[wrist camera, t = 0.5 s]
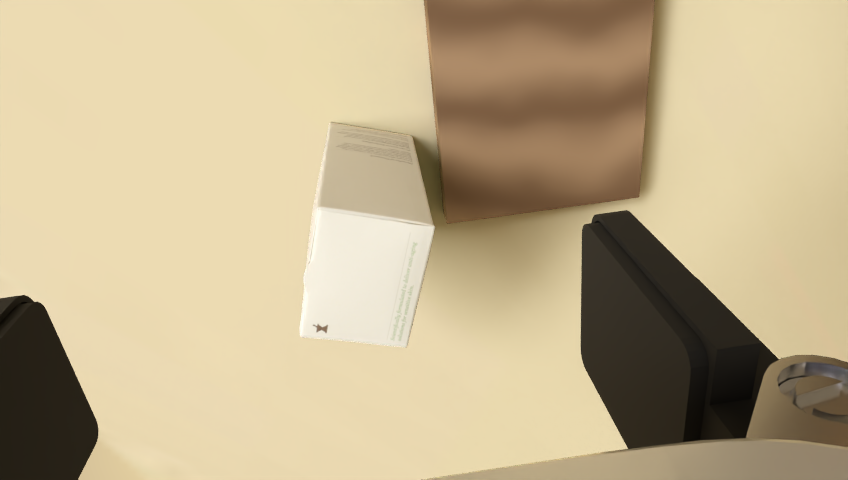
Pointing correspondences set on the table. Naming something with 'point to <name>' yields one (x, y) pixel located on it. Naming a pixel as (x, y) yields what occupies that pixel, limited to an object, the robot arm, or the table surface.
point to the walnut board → (538, 102)
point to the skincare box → (366, 239)
